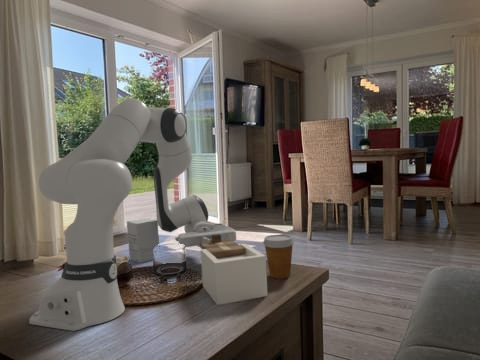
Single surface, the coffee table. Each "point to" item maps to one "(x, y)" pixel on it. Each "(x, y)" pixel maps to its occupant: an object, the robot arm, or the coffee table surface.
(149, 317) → the coffee table surface
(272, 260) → the disposable coffee cup
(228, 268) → the box
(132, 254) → the supplement box
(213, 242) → the lid
